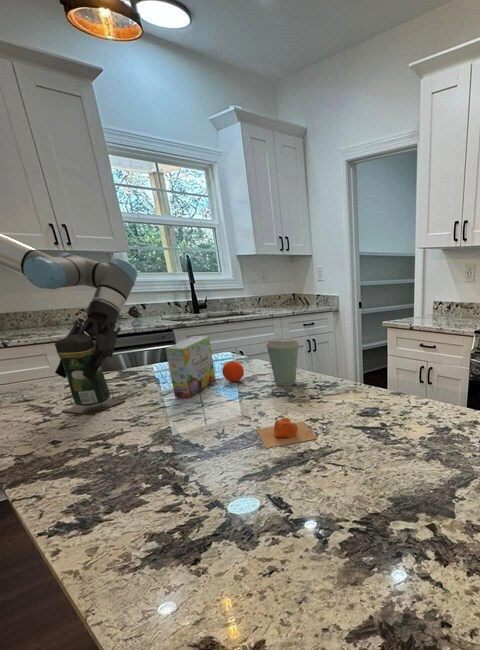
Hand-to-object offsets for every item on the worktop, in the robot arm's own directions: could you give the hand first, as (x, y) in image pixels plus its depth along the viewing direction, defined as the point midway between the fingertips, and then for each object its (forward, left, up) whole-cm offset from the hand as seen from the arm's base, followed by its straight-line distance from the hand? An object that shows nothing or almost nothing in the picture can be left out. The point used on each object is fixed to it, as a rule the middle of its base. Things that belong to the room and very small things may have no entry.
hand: (73, 376), depth 113 cm
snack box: (+17, +26, -10) cm, 33 cm away
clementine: (+24, +36, -10) cm, 45 cm away
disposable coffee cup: (+43, +38, -10) cm, 58 cm away
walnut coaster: (0, +3, -10) cm, 10 cm away
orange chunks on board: (+63, -2, -10) cm, 64 cm away
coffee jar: (0, +3, -8) cm, 9 cm away
